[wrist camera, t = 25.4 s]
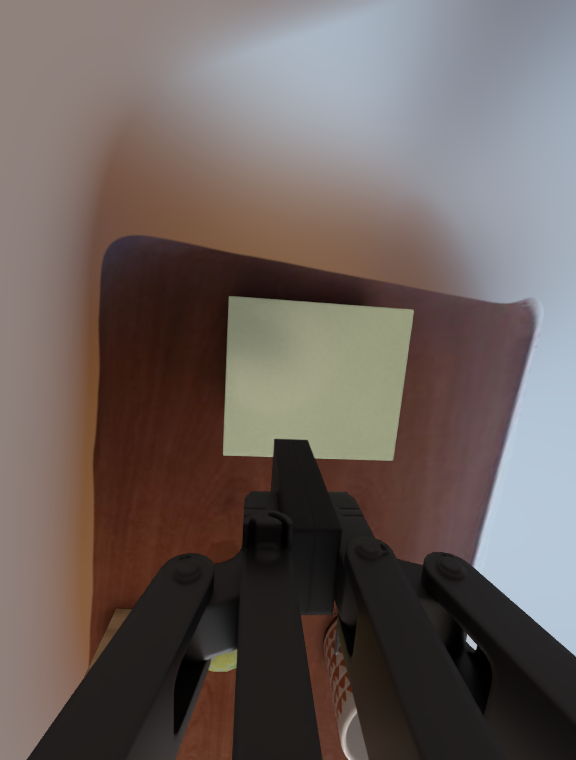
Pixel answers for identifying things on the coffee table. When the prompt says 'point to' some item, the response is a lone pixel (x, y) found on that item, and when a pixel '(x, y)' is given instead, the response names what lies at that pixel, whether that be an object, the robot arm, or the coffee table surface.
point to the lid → (314, 377)
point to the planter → (343, 700)
